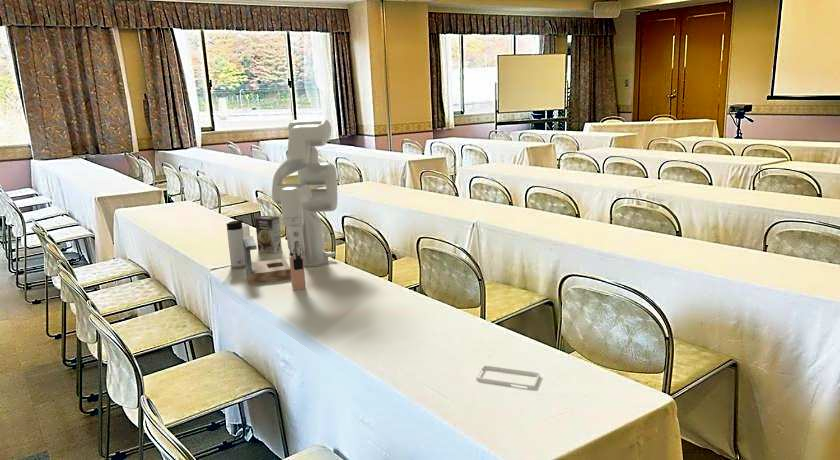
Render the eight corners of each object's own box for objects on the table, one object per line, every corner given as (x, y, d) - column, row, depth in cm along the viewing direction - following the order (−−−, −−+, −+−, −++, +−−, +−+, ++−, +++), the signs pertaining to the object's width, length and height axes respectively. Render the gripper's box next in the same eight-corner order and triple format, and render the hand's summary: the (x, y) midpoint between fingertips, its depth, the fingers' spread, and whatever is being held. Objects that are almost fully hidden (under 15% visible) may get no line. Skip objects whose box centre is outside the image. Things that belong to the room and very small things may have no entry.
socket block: (285, 267, 257) (282, 232, 254) (291, 278, 243) (288, 241, 239) (246, 272, 252) (242, 237, 248) (249, 284, 237) (245, 246, 234)
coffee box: (257, 252, 282) (254, 218, 278) (266, 248, 287) (262, 215, 283) (274, 254, 278) (271, 219, 274) (282, 250, 284) (279, 216, 280)
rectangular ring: (540, 377, 158) (483, 369, 163) (540, 372, 158) (483, 364, 163) (534, 391, 151) (475, 382, 157) (534, 386, 151) (475, 377, 156)
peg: (303, 284, 235) (301, 254, 232) (305, 288, 231) (303, 257, 228) (291, 286, 233) (289, 256, 230) (293, 290, 229) (291, 259, 226)
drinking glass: (255, 257, 274) (252, 224, 270) (245, 261, 268) (241, 227, 265) (243, 255, 277) (240, 223, 273) (233, 260, 271) (229, 226, 267)
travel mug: (243, 269, 257) (238, 222, 252) (228, 268, 258) (223, 222, 253) (249, 264, 263) (245, 219, 258) (235, 264, 264) (230, 218, 259)
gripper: (307, 224, 219) (310, 270, 222) (299, 216, 235) (302, 259, 238) (285, 226, 216) (289, 273, 220) (279, 217, 232) (283, 261, 236)
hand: (296, 266), depth 229 cm, fingers open, 9 cm apart
